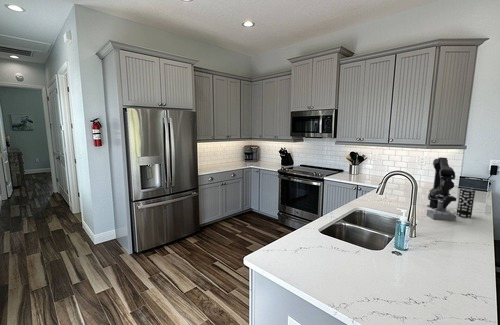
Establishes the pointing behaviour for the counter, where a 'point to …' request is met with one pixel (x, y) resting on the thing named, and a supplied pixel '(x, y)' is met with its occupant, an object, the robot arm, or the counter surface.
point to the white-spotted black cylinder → (465, 203)
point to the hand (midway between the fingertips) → (442, 207)
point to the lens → (440, 205)
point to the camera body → (441, 215)
